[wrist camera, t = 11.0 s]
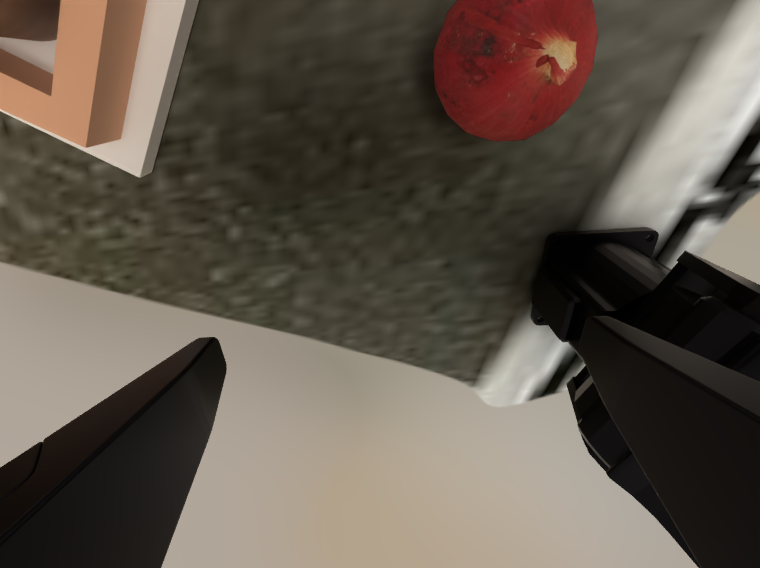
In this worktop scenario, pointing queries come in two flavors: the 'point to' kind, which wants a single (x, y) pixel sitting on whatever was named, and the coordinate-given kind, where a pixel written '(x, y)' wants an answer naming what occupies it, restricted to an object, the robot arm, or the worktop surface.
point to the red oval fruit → (513, 63)
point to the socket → (79, 73)
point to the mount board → (133, 83)
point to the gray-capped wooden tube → (29, 19)
